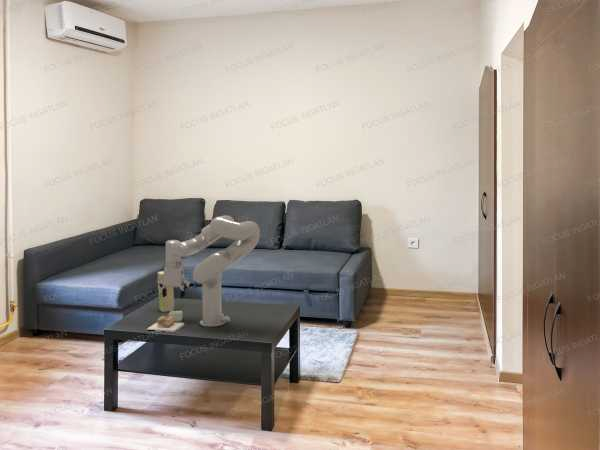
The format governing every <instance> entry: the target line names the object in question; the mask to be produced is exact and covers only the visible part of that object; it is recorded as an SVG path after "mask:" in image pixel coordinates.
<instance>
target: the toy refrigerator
mask: <svg viewBox="0 0 600 450" xmlns="http://www.w3.org/2000/svg"><path fill="white" fill-rule="evenodd" d="M163 274H164V270H162V271H157V280H159V279H162V278H163ZM161 283H162V284H163V281H161ZM157 288H158V291H157V292H158V307H159V308H158V309H159V310H160V311H161V312H162V313H167V312H170V311H175V297H174V296H175V295H174V290H175V289H174V287H170V286H167V287H166V289H167V296H165V297H163V295H162V289H161V287H160V286H159V284H158V283H157Z"/></svg>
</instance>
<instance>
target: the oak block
mask: <svg viewBox="0 0 600 450" xmlns="http://www.w3.org/2000/svg"><path fill="white" fill-rule="evenodd" d="M156 320H157V322H156V323H157V327H161V328H170V327H171V326H173V325H174V323H175V322H174V316H168V315H162V316H159V318H157V319H156Z"/></svg>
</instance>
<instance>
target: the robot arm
mask: <svg viewBox="0 0 600 450" xmlns="http://www.w3.org/2000/svg"><path fill="white" fill-rule="evenodd" d="M260 237H261V231H260V227H259V225H258V223H256V222H254V221H252V220H247V221H242V222H236V221H235V219H234V218H233V217H232V216H230V215H221V216H216V217H213V219H212V220H211V222H210V223H209V224H208V225H206V226H204V227H203V228H202V229H201V233H200V234H198V235H196V236H195V237H193V238H191V239H188V240H184V241H180V240H178V239H170V240H169V239H168V240H166V241H165V266H164V267H163V271H164V274H163V278H162V279H159V280H158V279H157V285H158V284H159V286H160V287H161V289H162V295H163V297H165V296H167V289H166V287H167V286H170V287H173V288H179V289H180V299H184V298H185V296H186V289H188V288H189V286H190V284H191V282H190V281H189V280H187V279H186V278H185V271H184V267H183V266H184V262H182V257H183V258H184V257H185V258H186V257H189V256H192V255H195V254H198V253H199V252H201V251H203V250H204V249H206V248H207V247H209V246H210V245H212V244H213V243H214V242H216V241H218V240H219V239H221V238H226V239H230V240H233V241H234V242H232V243H231V244H230V245H229V246H228V247H226V248H224V249H222V250H219V251H216V252H214V253H212V254H210V255H209V256H207V258H205V259H204V260H203V261H201V262H200V263H198V264H197V265H196V266H195V267H194V269H193V271H192V277H193V280H194V281H195V282H196V283H198V284H200V285H201V284H202V287H201V300H202V301H201V302H202V303H201V305H202V306H201V308H202V319H201V320H200V321H199V325H200V326H202V327H210V328H211V327H212V328H213V327H219V326H222V325H225V323H226V322H230V320H231V318H230V317H229V316H226V315H224V313H223V312H222V310H223V309H222V306H223V305H222V304H223V303H222V280H223V272H224V271H226V270H228V269H231V268H232V267H234V266H235V264H237V263H238V262H239V261H241V260H242V259H243V258H244V257H246V256H247V255H248V254H249V253H250V252H252V251H253V250H254V249H255V248H256V247H257V245H258V243H259V240H260ZM161 281H163V284H162V283H161Z"/></svg>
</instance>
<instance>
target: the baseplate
mask: <svg viewBox="0 0 600 450" xmlns="http://www.w3.org/2000/svg"><path fill="white" fill-rule="evenodd" d="M184 326H185V323H184V322H174V325H173V326H171V327H170V328H161V327H157V322H155V323H154V324H151V326H149V327H147V329H146V331H147V330H155V331H154V332H161V331H165V333H175V332H177V331H178V330H179V329H181V328H182V327H184Z"/></svg>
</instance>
